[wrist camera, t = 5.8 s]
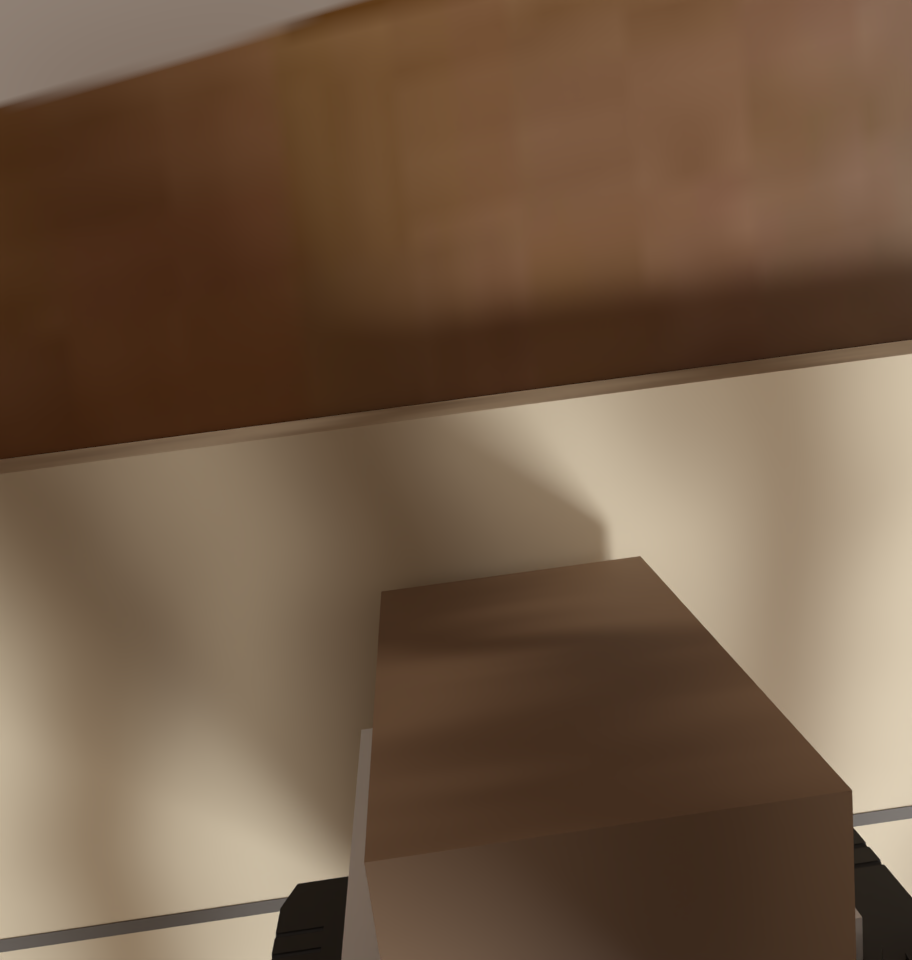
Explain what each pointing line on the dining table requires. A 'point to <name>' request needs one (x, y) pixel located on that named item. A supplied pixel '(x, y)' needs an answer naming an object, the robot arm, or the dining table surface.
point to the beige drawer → (591, 783)
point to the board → (404, 564)
